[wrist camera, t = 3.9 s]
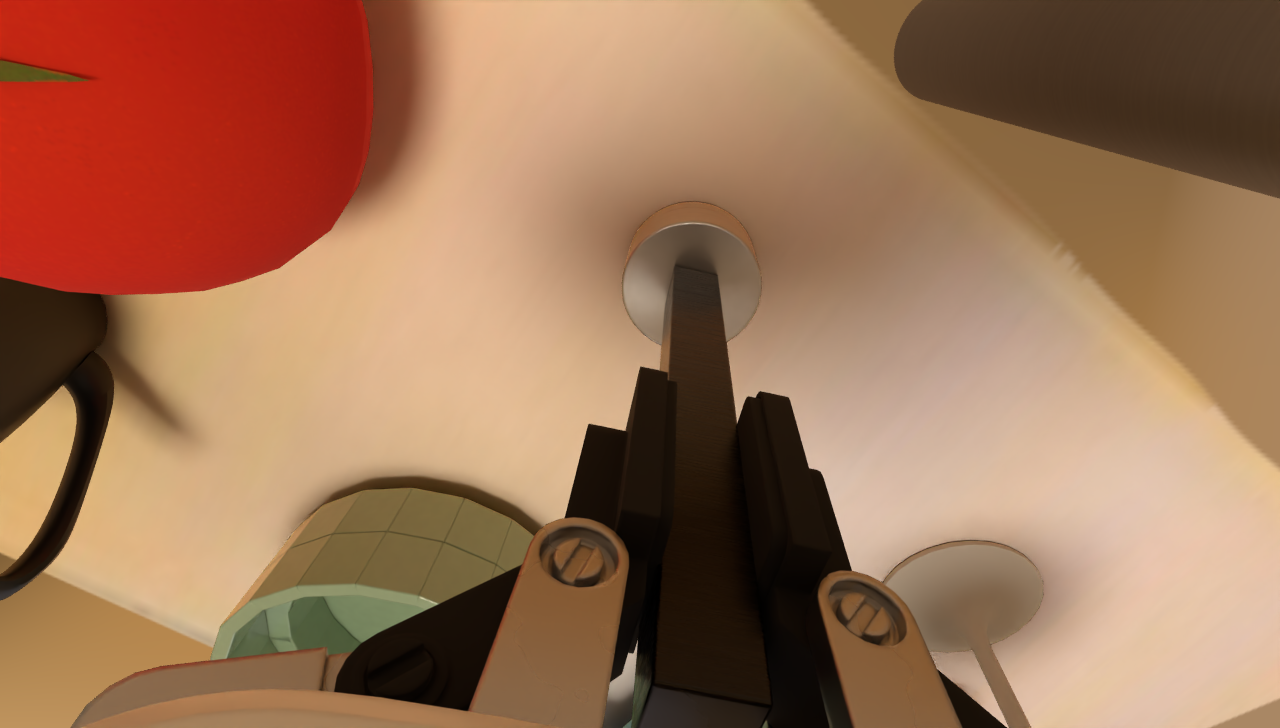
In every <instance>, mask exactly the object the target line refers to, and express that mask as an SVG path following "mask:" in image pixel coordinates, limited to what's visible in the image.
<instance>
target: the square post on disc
mask: <svg viewBox="0 0 1280 728" xmlns="http://www.w3.org/2000/svg"><path fill="white" fill-rule="evenodd" d="M621 284H622V298H623V302H624V305H625V309H626V311H627V313H628V315H629V317H630V319H631V320H632V322H633V323H634V325H635V326H636V327H637V328H638V329H639V330H640V331H641V332H642V333H643V334H644V335H645V336H646V337H648V338H649V339H651V340H652V341H654V342H656V343H657V344H659V345H662V346H661V359H660V371H664V372H668V380H671V381H676V382H677V420H676V459H675V497H674V514H673V521H672V527H671V531H670V535H669V539H668V542H667V545H666V549H665V552H664V555H663V558H662V562H661V563H660V564H659V565H658V566H657V569H656V572H655V575H654V579H653V582H652V585H651V589H650V592H649V595H648V598H647V602H646V605H645V608H644V612H643V615H642V618H641V622H640V625H639V635H638V647H637V660H636V672H635V685H634V697H633V710H632V722H631V728H762V727H763V725H764V723H765V721H766V719H767V717H768V715H769V714H770V712H771V710H772V708H773V697H772V689H771V681H770V674H769V666H768V658H767V650H766V643H765V635H764V627H763V620H762V612H761V604H760V596H759V589H758V583H757V580H756V572H755V564H754V556H753V548H752V540H751V532H750V524H749V516H748V509H747V501H746V493H745V485H744V477H743V469H742V461H741V453H740V445H739V438H738V430H737V419H736V411H735V404H734V396H733V388H732V380H731V373H730V365H729V357H728V350H727V342H728V341H729V340H731V339H733V338H734V337H735V336H737V335H738V334H739V333H740V332H741V331H742V330H743V329H744V328H745V327H746V326H747V325H748V323H749V322H750V321H751V319H752V318H753V316H754V314H755V312H756V310H757V307H758V305H759V301H760V297H761V291H762V278H761V272H760V268H759V265H758V262H757V258H756V255H755V252H754V249H753V246H752V243H751V240H750V237H749V235H748V233H747V232H746V230H745V229H744V227H743V226H742V225H741V223H740V222H739V221H738V220H737V219H736V218H735V217H733V216H732V215H731V214H730V213H728V212H726V211H725V210H723V209H721V208H719V207H717V206H714V205H711V204H707V203H701V202H683V203H677V204H673V205H670V206H668V207H665V208H663V209H661V210H659V211H658V212H656V213H654V214H653V215H652V216H650V217H649V218H648V219H647V220H646V221H645V222H644V223H643V224H642V225H641V227H640V228H639V229H638V231H637V232H636V234H635V236H634V238H633V240H632V242H631V245H630V249H629V252H628V256H627V260H626V264H625V267H624V271H623V275H622V283H621Z"/></svg>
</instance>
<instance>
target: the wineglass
mask: <svg viewBox="0 0 1280 728" xmlns="http://www.w3.org/2000/svg"><path fill="white" fill-rule="evenodd" d="M883 584H885V585H886V586H887V587H889V588H890V589H891V590H893V591H894V592H895V593H896V594H897V595H898V596H899V597H900V598H901V599H902V600H903V601H904V602H905V603H906V604H907V606H908V608H909V609H910V611H911V613H912V614H913V616H914V618H915V620H916V622H917V625H918V627H919V629H920V632H921V634H922V636H923V638H924V641H925V643H926V645H927V648H928V650H929V651H933V652H946V653H948V652H962V651H969V650H973V652H974V654H975V656H976V658H977V660H978V662H979V664H980V666H981V669H982V671H983V673H984V675H985V677H986V679H987V681H988V684H989V686H990V688H991V690H992V692H993V694H994V696H995V698H996V701H997V703H998V705H999V707H1000V709H1001V711H1002V713H1003V715H1004V718H1005V720H1006V722H1007V724H1008V726H1009V728H1031V726H1030V724H1029V722H1028V720H1027V718H1026V716H1025V714H1024V712H1023V710H1022V708H1021V706H1020V704H1019V702H1018V700H1017V698H1016V696H1015V694H1014V692H1013V690H1012V688H1011V686H1010V684H1009V682H1008V680H1007V678H1006V676H1005V674H1004V672H1003V670H1002V668H1001V666H1000V664H999V662H998V660H997V658H996V656H995V654H994V652H993V650H992V648H991V644H994V643H996V642H999V641H1002V640H1004V639H1005V638H1007V637H1009V636H1010V635H1012V634H1014V633H1016V632H1017V631H1019V630H1020V629H1021V628H1022V627H1023V626H1024V625H1025V624H1027V623H1028V622H1029V621H1030V620H1031V619H1032V617H1033V616H1034V614H1035V613H1036V612H1037V610H1038V609H1039V607H1040V604H1041V601H1042V598H1043V595H1044V594H1043V581H1042V578H1041V576H1040V574H1039V572H1038V570H1037V568H1036V567H1035V565H1034V564H1033V563H1032V562H1031V561H1030V560H1029V559H1028V558H1027V557H1026V556H1025V555H1023V554H1022V553H1020V552H1018V551H1016V550H1014V549H1012V548H1010V547H1008V546H1004V545H1000V544H997V543H993V542H984V541H961V542H951V543H946V544H943V545H939V546H935V547H932V548H928V549H926V550H924V551H922V552H920V553H917V554H915V555H913V556H911V557H909V558H908V559H907V560H905V561H904V562H902V563H901V564H900V565H898V566H897V567H896V568H895V569H894V570H893V571H892V572H891V573H890V574H889V575H888V576H887V578H886V579H885V580H884V582H883Z"/></svg>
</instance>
